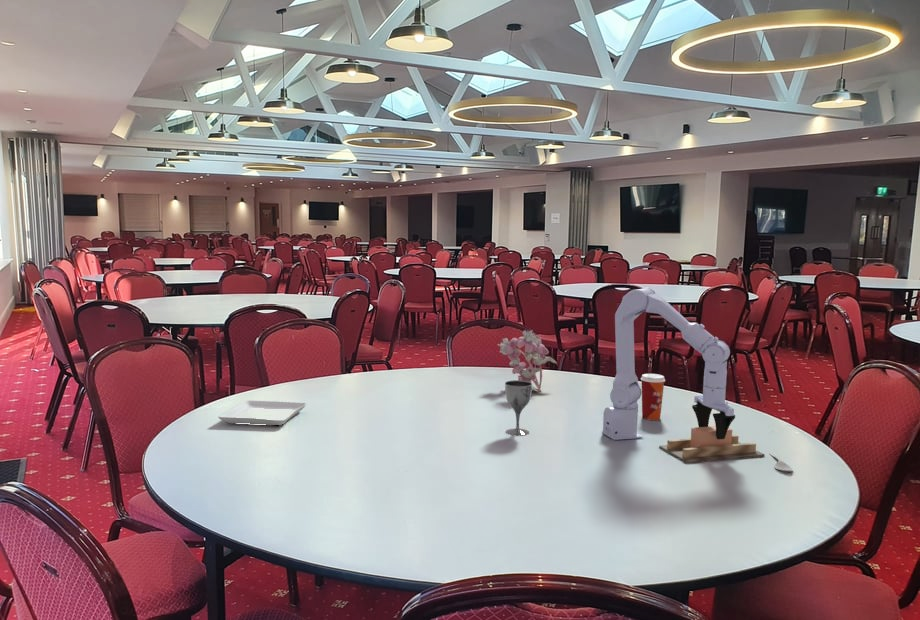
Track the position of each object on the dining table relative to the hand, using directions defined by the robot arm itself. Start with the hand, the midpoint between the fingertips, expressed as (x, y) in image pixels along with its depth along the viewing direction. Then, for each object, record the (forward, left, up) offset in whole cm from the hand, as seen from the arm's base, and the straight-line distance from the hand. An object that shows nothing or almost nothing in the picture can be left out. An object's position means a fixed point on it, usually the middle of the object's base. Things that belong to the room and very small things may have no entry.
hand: (711, 434), depth 178 cm
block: (0, 0, -4) cm, 4 cm away
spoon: (+13, -10, -6) cm, 17 cm away
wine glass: (-46, +29, -5) cm, 55 cm away
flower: (-23, +83, -5) cm, 86 cm away
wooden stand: (0, 0, -5) cm, 5 cm away
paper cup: (+2, +34, -5) cm, 34 cm away
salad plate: (-120, +61, -6) cm, 135 cm away
